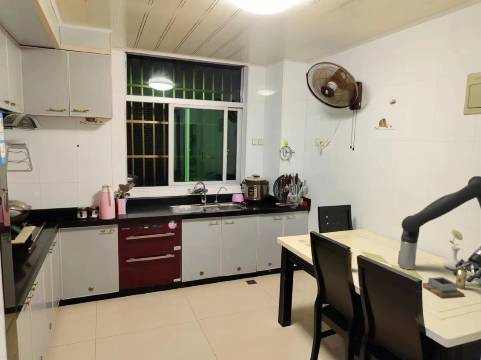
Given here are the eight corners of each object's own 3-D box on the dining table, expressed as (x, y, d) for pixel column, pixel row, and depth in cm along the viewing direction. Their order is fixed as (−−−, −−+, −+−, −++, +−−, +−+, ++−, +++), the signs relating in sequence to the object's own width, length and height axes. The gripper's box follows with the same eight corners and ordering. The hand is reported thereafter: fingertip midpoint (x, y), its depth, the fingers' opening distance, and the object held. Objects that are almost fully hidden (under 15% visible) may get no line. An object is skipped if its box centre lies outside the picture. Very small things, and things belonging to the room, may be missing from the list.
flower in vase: (467, 273, 200) (472, 234, 197) (446, 270, 202) (451, 232, 199) (457, 265, 213) (462, 228, 210) (438, 263, 215) (442, 226, 212)
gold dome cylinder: (453, 286, 181) (455, 269, 179) (459, 285, 182) (462, 268, 180) (460, 289, 176) (462, 272, 175) (466, 289, 177) (469, 271, 176)
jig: (420, 285, 180) (421, 276, 179) (442, 284, 182) (443, 275, 182) (441, 298, 166) (442, 288, 165) (463, 296, 169) (465, 286, 168)
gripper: (465, 248, 185) (446, 268, 184) (489, 257, 171) (469, 279, 171) (472, 257, 187) (453, 277, 186) (496, 266, 173) (476, 288, 172)
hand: (460, 278), depth 178 cm, fingers open, 8 cm apart
